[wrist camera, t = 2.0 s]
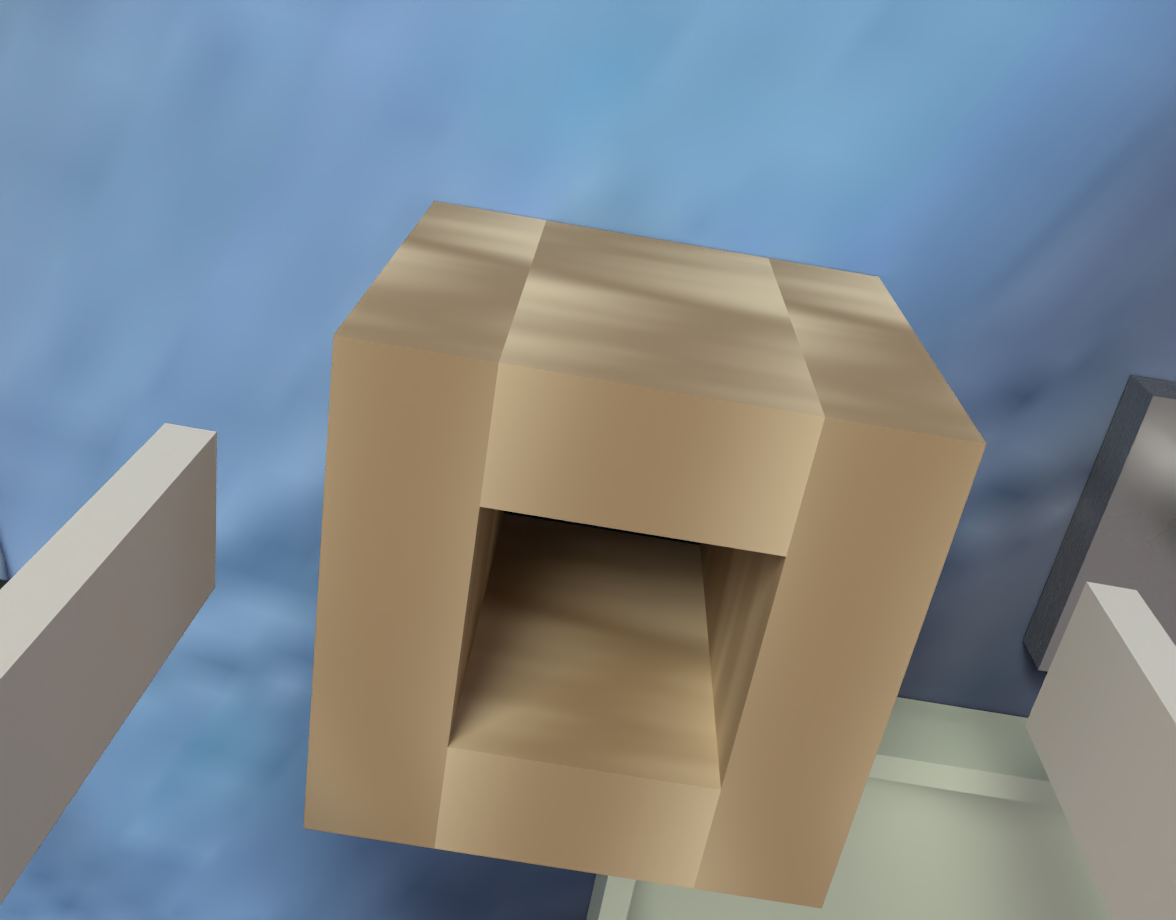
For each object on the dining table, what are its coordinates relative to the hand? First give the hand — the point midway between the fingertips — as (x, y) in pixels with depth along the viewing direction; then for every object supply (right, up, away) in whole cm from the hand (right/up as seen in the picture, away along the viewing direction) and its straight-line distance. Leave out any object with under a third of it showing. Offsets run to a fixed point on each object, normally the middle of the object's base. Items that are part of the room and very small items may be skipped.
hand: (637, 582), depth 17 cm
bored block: (0, +2, +5) cm, 5 cm away
